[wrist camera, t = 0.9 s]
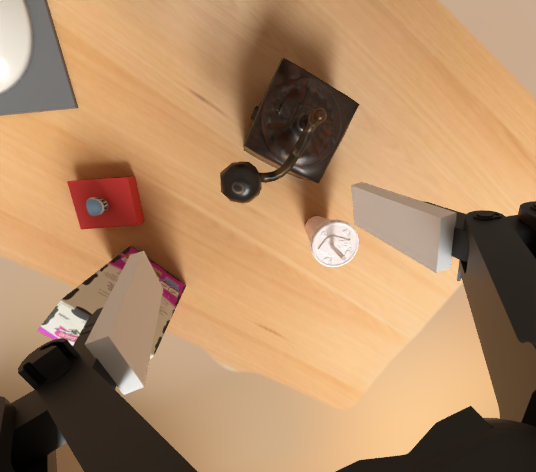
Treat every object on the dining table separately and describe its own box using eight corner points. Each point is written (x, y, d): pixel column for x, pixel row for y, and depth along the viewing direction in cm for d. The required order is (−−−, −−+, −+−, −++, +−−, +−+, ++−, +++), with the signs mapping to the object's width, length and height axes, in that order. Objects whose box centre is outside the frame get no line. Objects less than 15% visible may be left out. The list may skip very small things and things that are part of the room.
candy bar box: (112, 266, 41) (31, 331, 26) (130, 244, 41) (58, 297, 25) (169, 305, 44) (128, 384, 28) (187, 285, 43) (155, 355, 28)
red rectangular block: (135, 176, 38) (115, 178, 32) (145, 220, 40) (127, 230, 34) (80, 180, 37) (48, 183, 31) (92, 224, 39) (64, 236, 33)
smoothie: (294, 212, 41) (317, 236, 28) (332, 204, 41) (374, 224, 28) (300, 248, 43) (325, 287, 30) (337, 240, 43) (377, 276, 30)
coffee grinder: (268, 77, 36) (289, -2, 18) (335, 115, 38) (410, 77, 21) (225, 179, 39) (208, 194, 22) (288, 209, 41) (319, 244, 24)
